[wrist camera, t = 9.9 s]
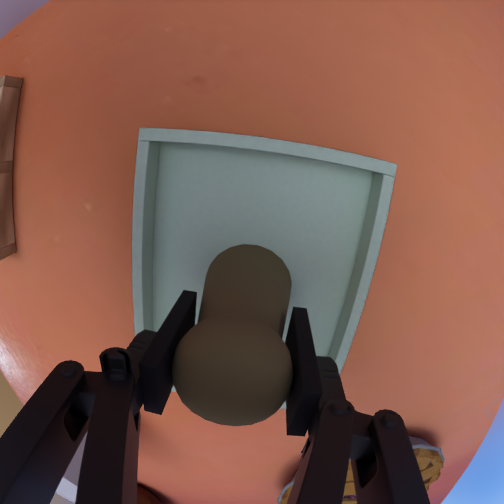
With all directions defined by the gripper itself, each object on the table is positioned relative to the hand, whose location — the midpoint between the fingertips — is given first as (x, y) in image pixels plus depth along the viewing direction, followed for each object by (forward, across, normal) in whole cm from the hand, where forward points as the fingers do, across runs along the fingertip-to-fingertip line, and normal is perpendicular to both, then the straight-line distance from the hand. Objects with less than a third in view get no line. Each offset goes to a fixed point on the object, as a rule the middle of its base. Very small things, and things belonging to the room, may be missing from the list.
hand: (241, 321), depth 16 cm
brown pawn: (+5, 0, 0) cm, 5 cm away
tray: (+6, 0, 0) cm, 6 cm away
